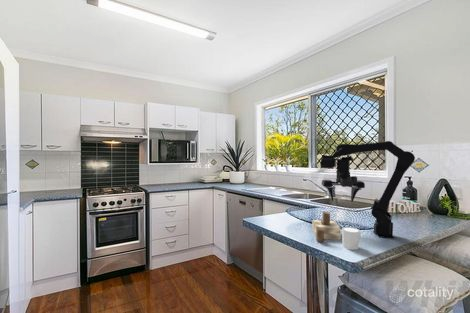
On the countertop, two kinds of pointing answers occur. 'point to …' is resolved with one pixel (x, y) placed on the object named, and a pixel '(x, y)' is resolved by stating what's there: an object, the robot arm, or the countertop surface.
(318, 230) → the short pin
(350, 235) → the white cylinder
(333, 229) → the hole block
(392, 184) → the robot arm
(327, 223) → the tall pin
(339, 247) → the countertop surface
